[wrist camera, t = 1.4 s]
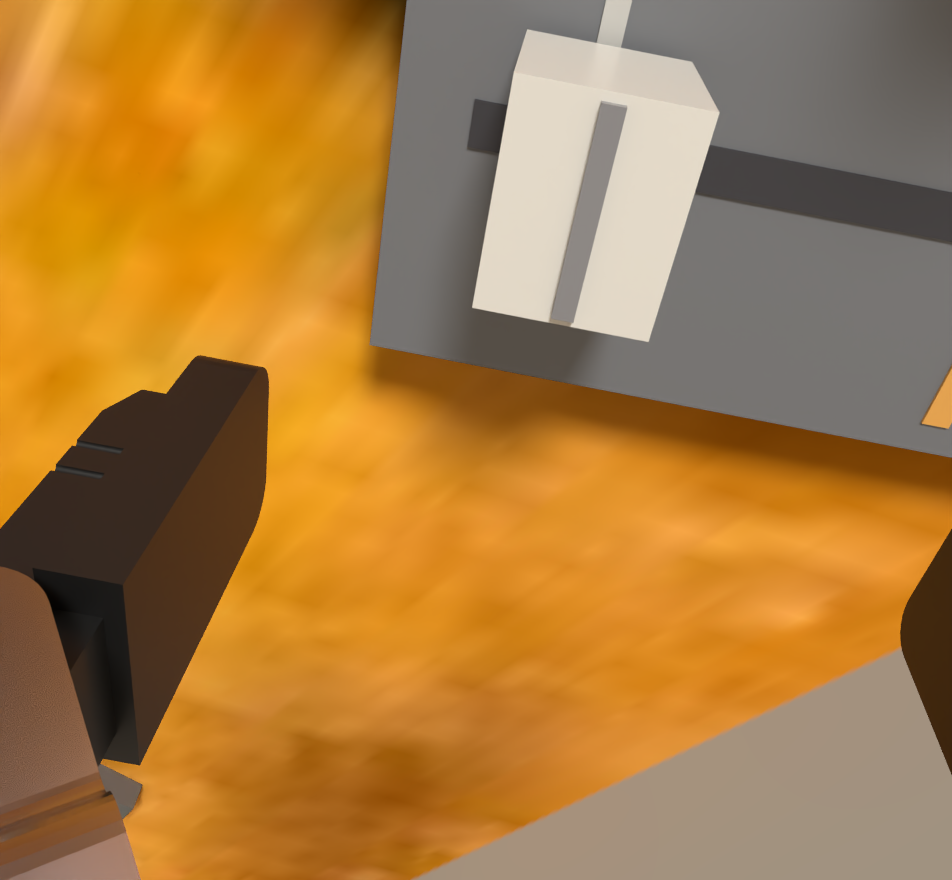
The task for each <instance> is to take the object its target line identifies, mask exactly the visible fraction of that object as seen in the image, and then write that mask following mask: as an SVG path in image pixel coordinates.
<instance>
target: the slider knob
mask: <svg viewBox="0 0 952 880" xmlns="http://www.w3.org/2000/svg"><path fill="white" fill-rule="evenodd" d="M719 113H720V112H719V110H718V109H717V107H716V105H715V103H714V101H713V99H712V97H711V96H710V94H709V92H708V90H707V88H706V86H705V85H704V83H703V81H702V79H701V77H700V75H699V73H698V72H697V70H696V68H695V66H694V64H693V62H691V61H686V60H680V59H675V58H670V57H665V56H660V55H655V54H650V53H645V52H640V51H635V50H630V49H625V48H620V47H614V46H609V45H604V44H599V43H594V42H589V41H584V40H579V39H574V38H569V37H564V36H559V35H554V34H549V33H543V32H538V31H533V30H528V29H527V32H526V35H525V38H524V41H523V44H522V48H521V51H520V54H519V57H518V60H517V63H516V67H515V70H514V74H513V79H512V85H511V91H510V96H509V102H508V108H507V113H506V119H505V125H504V130H503V136H502V141H501V147H500V153H499V158H498V164H497V170H496V175H495V181H494V187H493V192H492V198H491V204H490V209H489V215H488V220H487V226H486V232H485V237H484V243H483V249H482V254H481V260H480V266H479V271H478V277H477V282H476V288H475V294H474V299H473V305H472V308H476V309H481V310H486V311H491V312H496V313H502V314H507V315H512V316H517V317H522V318H527V319H532V320H538V321H543V322H548V323H553V324H558V325H563V326H568V327H574V328H579V329H584V330H589V331H594V332H599V333H604V334H610V335H615V336H620V337H625V338H630V339H635V340H640V341H646V342H649V339H650V335H651V332H652V329H653V326H654V323H655V319H656V316H657V313H658V310H659V306H660V303H661V300H662V297H663V294H664V290H665V287H666V284H667V281H668V277H669V274H670V271H671V268H672V265H673V261H674V258H675V255H676V252H677V248H678V245H679V242H680V239H681V236H682V232H683V229H684V226H685V223H686V219H687V216H688V213H689V210H690V207H691V203H692V200H693V197H694V194H695V190H696V187H697V184H698V181H699V178H700V174H701V171H702V168H703V165H704V161H705V158H706V155H707V152H708V148H709V145H710V142H711V139H712V136H713V132H714V129H715V126H716V123H717V119H718V116H719Z"/></svg>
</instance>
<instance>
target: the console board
mask: <svg viewBox="0 0 952 880" xmlns="http://www.w3.org/2000/svg"><path fill="white" fill-rule="evenodd" d="M527 29H528V30H533V31H538V32H543V33H549V34H554V35H559V36H564V37H569V38H574V39H579V40H584V41H589V42H594V43H599V44H604V45H609V46H614V47H620V48H625V49H630V50H635V51H640V52H645V53H650V54H655V55H660V56H665V57H670V58H675V59H680V60H686V61H691V62H693V64H694V66H695V68H696V70H697V72H698V73H699V75H700V77H701V79H702V81H703V83H704V85H705V86H706V88H707V90H708V92H709V94H710V96H711V97H712V99H713V101H714V103H715V105H716V107H717V109H718V110H719V112H720V113H719V116H718V119H717V123H716V126H715V129H714V132H713V136H712V139H711V142H710V145H709V148H708V152H707V155H706V158H705V161H704V165H703V168H702V171H701V174H700V178H699V181H698V184H697V187H696V190H695V194H694V197H693V200H692V203H691V207H690V210H689V213H688V216H687V219H686V223H685V226H684V229H683V232H682V236H681V239H680V242H679V245H678V248H677V252H676V255H675V258H674V261H673V265H672V268H671V271H670V274H669V277H668V281H667V284H666V287H665V290H664V294H663V297H662V300H661V303H660V306H659V310H658V313H657V316H656V319H655V323H654V326H653V329H652V332H651V335H650V339H649V342H646V341H640V340H635V339H630V338H625V337H620V336H615V335H610V334H604V333H599V332H594V331H589V330H584V329H579V328H574V327H568V326H563V325H558V324H553V323H548V322H543V321H538V320H532V319H527V318H522V317H517V316H512V315H507V314H502V313H496V312H491V311H486V310H481V309H476V308H472V305H473V299H474V294H475V288H476V282H477V277H478V271H479V266H480V260H481V254H482V249H483V243H484V237H485V232H486V226H487V220H488V215H489V209H490V204H491V198H492V192H493V187H494V181H495V175H496V170H497V164H498V158H499V153H500V147H501V141H502V136H503V130H504V125H505V119H506V113H507V108H508V102H509V96H510V91H511V85H512V79H513V74H514V70H515V67H516V63H517V60H518V57H519V54H520V51H521V48H522V44H523V41H524V38H525V35H526V32H527ZM370 345H373V346H378V347H383V348H388V349H394V350H399V351H404V352H409V353H414V354H419V355H424V356H430V357H435V358H440V359H445V360H450V361H455V362H461V363H466V364H471V365H476V366H481V367H486V368H492V369H497V370H502V371H507V372H512V373H517V374H522V375H528V376H533V377H538V378H543V379H548V380H553V381H559V382H564V383H569V384H574V385H579V386H584V387H590V388H595V389H600V390H605V391H610V392H615V393H621V394H626V395H631V396H636V397H641V398H646V399H651V400H657V401H662V402H667V403H672V404H677V405H682V406H688V407H693V408H698V409H703V410H708V411H713V412H719V413H724V414H729V415H734V416H739V417H744V418H749V419H755V420H760V421H765V422H770V423H775V424H780V425H786V426H791V427H796V428H801V429H806V430H811V431H817V432H822V433H827V434H832V435H837V436H842V437H847V438H853V439H858V440H863V441H868V442H873V443H878V444H884V445H889V446H894V447H899V448H904V449H909V450H915V451H920V452H925V453H930V454H935V455H940V456H945V457H951V458H952V0H407V3H406V13H405V22H404V31H403V41H402V50H401V59H400V68H399V78H398V87H397V96H396V106H395V115H394V124H393V134H392V143H391V152H390V161H389V171H388V180H387V189H386V199H385V208H384V217H383V227H382V236H381V245H380V254H379V264H378V273H377V282H376V292H375V301H374V310H373V320H372V329H371V338H370Z"/></svg>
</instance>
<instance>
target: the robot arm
mask: <svg viewBox="0 0 952 880" xmlns="http://www.w3.org/2000/svg"><path fill="white" fill-rule="evenodd" d="M268 398H269V380H268V373H267V371H266V369H265V368H263V367H259V366H253V365H248V364H243V363H238V362H232V361H227V360H222V359H216V358H211V357H206V356H201V355H200V356H197V357H195V358H194V359H193V360H192V361H191V362H190V364H189V365H188V366H187V368H186V369H185V370H184V372H183V373H182V374H181V375H180V377H179V378H178V379H177V381H176V382H175V383H174V384H173V386H172V387H171V388H170V390H169V391H168V392H167V394H163V393H158V392H153V391H147V390H140V391H139V392H137V393H135V394H133V395H131V396H129V397H127V398H125V399H124V400H122V401H120V402H118V403H116V404H114V405H112V406H110V407H108V408H107V409H105V410H103V411H102V412H101V413H100V414H99V415H98V416H97V417H96V419H95V420H94V421H93V422H92V423H91V424H90V426H89V427H88V428H87V429H86V430H85V431H84V432H83V434H82V435H81V436H80V437H79V438H78V439H77V444H76V446H71V448H70V449H69V450H68V451H67V452H66V453H65V454H64V456H63V457H62V458H61V459H60V460H59V461H58V463H57V464H56V469H55V471H50V472H49V473H48V474H47V475H46V477H45V478H44V479H43V480H42V481H41V482H40V483H39V485H38V486H37V487H36V488H35V489H34V490H33V492H32V493H31V494H30V495H29V496H28V497H27V499H26V500H25V501H24V502H23V503H22V504H21V505H20V507H19V508H18V509H17V510H16V511H15V512H14V514H13V515H12V516H11V517H10V518H9V519H8V521H7V522H6V523H5V524H4V525H3V526H2V527H1V529H0V880H141V879H140V876H139V873H138V869H137V866H136V863H135V859H134V856H133V853H132V849H131V846H130V843H129V839H128V836H127V833H126V830H125V826H124V823H123V820H122V817H121V814H120V811H119V808H118V806H117V803H116V800H115V798H114V796H113V794H112V792H111V791H108V792H106V791H105V788H104V785H103V783H102V780H101V776H100V773H99V770H98V767H99V765H100V763H101V761H102V759H108V760H114V761H119V762H124V763H130V764H135V765H140V764H141V762H142V760H143V758H144V756H145V754H146V751H147V749H148V747H149V745H150V743H151V741H152V739H153V737H154V735H155V733H156V731H157V729H158V727H159V725H160V723H161V721H162V718H163V716H164V714H165V712H166V710H167V708H168V706H169V704H170V702H171V700H172V698H173V696H174V694H175V692H176V690H177V688H178V686H179V683H180V681H181V679H182V677H183V675H184V673H185V671H186V669H187V667H188V665H189V663H190V661H191V659H192V657H193V655H194V653H195V650H196V648H197V646H198V644H199V642H200V640H201V638H202V636H203V634H204V632H205V630H206V628H207V626H208V624H209V622H210V620H211V618H212V615H213V613H214V611H215V609H216V607H217V605H218V603H219V601H220V599H221V597H222V595H223V593H224V591H225V589H226V587H227V585H228V582H229V580H230V578H231V576H232V574H233V572H234V570H235V568H236V566H237V564H238V562H239V560H240V558H241V556H242V554H243V552H244V549H245V547H246V545H247V543H248V541H249V539H250V537H251V535H252V533H253V531H254V528H255V526H256V523H257V520H258V517H259V514H260V510H261V506H262V502H263V497H264V491H265V484H266V464H267V431H268ZM900 635H901V647H902V652H903V655H904V658H905V660H906V663H907V665H908V668H909V670H910V673H911V675H912V678H913V680H914V683H915V685H916V687H917V690H918V692H919V695H920V698H921V700H922V702H923V705H924V707H925V710H926V712H927V715H928V717H929V720H930V722H931V725H932V727H933V730H934V732H935V734H936V737H937V739H938V742H939V744H940V747H941V750H942V752H943V754H944V757H945V759H946V762H947V764H948V767H949V769H950V772H951V774H952V529H951V531H950V533H949V534H948V536H947V538H946V539H945V541H944V543H943V544H942V546H941V548H940V549H939V551H938V552H937V554H936V556H935V557H934V559H933V561H932V562H931V564H930V566H929V567H928V569H927V571H926V572H925V574H924V575H923V577H922V579H921V580H920V582H919V584H918V585H917V587H916V589H915V590H914V592H913V593H912V595H911V597H910V598H909V600H908V602H907V604H906V607H905V609H904V613H903V616H902V622H901V631H900Z"/></svg>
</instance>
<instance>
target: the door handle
mask: <svg viewBox="0 0 952 880" xmlns="http://www.w3.org/2000/svg"><path fill="white" fill-rule="evenodd" d="M98 770H99V773H100V776H101V780H102V783H103V785H104V788H105V791H106V792H108V791H111V792H112V794H113V796H114V798H115V800H116V803H117V806H118V808H119V811H120V814H121V817H122V819H123V818H124V817H125V816H126V815H127V814H128V813H129V812H130V811H131V810H132V809H133V808H134V805H135V803H136V800H137V798H138V795H139V793H140V790H141V788H142V784H140V783H138V782H136V781H134V780H132V779H130V778H128V777H126V776H124V775H122V774H120V773H118V772H116V771H114V770H112V769H110V768H108V767H106V766H104V765H102V764H100V765H99V767H98Z"/></svg>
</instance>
